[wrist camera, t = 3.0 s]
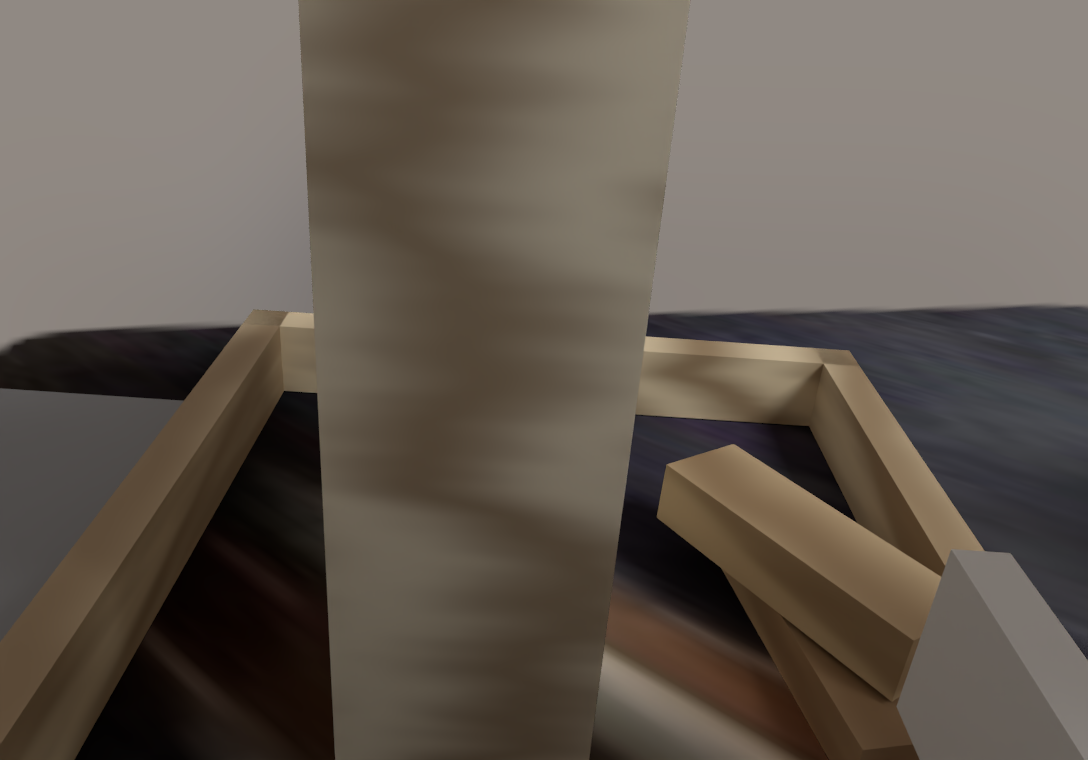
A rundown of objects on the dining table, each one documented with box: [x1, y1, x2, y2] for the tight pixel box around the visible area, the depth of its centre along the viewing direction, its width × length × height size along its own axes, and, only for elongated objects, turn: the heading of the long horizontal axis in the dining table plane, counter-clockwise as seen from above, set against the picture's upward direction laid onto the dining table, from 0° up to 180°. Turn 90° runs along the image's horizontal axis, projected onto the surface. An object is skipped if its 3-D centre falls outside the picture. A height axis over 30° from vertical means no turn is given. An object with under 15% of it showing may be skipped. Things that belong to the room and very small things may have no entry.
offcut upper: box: [657, 444, 941, 702], centre depth 27 cm, size 3×9×2 cm, turn 35°
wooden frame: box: [0, 310, 984, 760], centre depth 29 cm, size 26×24×3 cm
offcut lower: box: [721, 568, 919, 760], centre depth 27 cm, size 4×11×2 cm, turn 11°
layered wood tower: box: [298, 0, 690, 760], centre depth 22 cm, size 6×10×18 cm, turn 179°
